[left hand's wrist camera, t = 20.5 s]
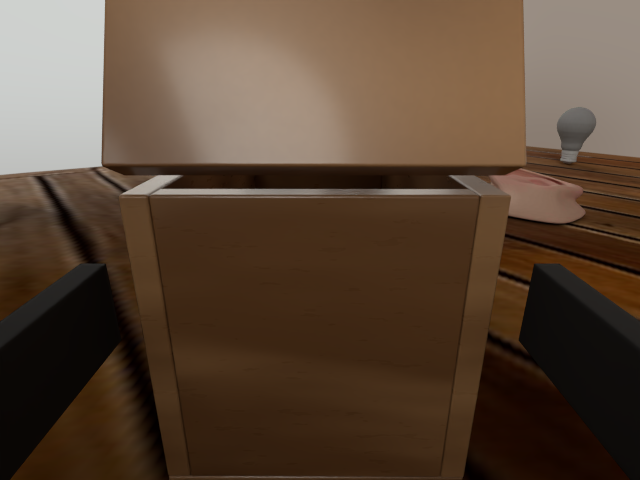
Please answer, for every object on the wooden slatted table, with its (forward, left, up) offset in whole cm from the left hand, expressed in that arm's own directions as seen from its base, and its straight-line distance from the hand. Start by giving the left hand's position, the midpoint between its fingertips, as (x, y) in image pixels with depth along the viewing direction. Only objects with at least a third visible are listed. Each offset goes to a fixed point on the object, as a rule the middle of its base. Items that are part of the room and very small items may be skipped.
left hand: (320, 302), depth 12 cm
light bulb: (-22, +77, -7) cm, 80 cm away
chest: (-6, +4, -7) cm, 10 cm away
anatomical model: (-12, +41, -7) cm, 43 cm away
